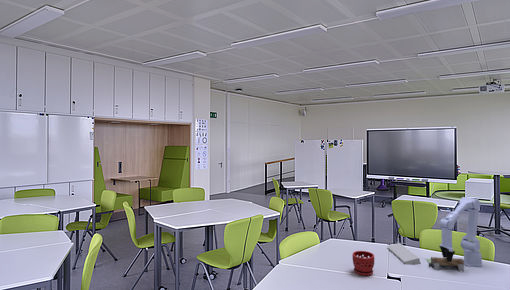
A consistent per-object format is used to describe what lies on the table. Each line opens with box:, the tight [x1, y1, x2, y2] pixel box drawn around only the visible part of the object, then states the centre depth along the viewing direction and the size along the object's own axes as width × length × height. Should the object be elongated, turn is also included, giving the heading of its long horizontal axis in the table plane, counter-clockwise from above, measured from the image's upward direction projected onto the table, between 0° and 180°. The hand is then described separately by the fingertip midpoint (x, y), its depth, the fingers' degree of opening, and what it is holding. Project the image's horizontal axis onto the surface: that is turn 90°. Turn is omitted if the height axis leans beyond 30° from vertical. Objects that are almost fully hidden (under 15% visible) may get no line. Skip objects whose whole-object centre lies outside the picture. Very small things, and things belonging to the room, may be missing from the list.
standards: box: [428, 262, 465, 273], centre depth 206 cm, size 20×6×6 cm, turn 78°
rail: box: [430, 256, 465, 266], centre depth 206 cm, size 18×4×4 cm, turn 78°
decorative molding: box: [386, 242, 422, 265], centre depth 232 cm, size 34×5×10 cm
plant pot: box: [352, 250, 375, 277], centre depth 202 cm, size 13×13×12 cm
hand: (447, 259), depth 206 cm, fingers open, 7 cm apart
